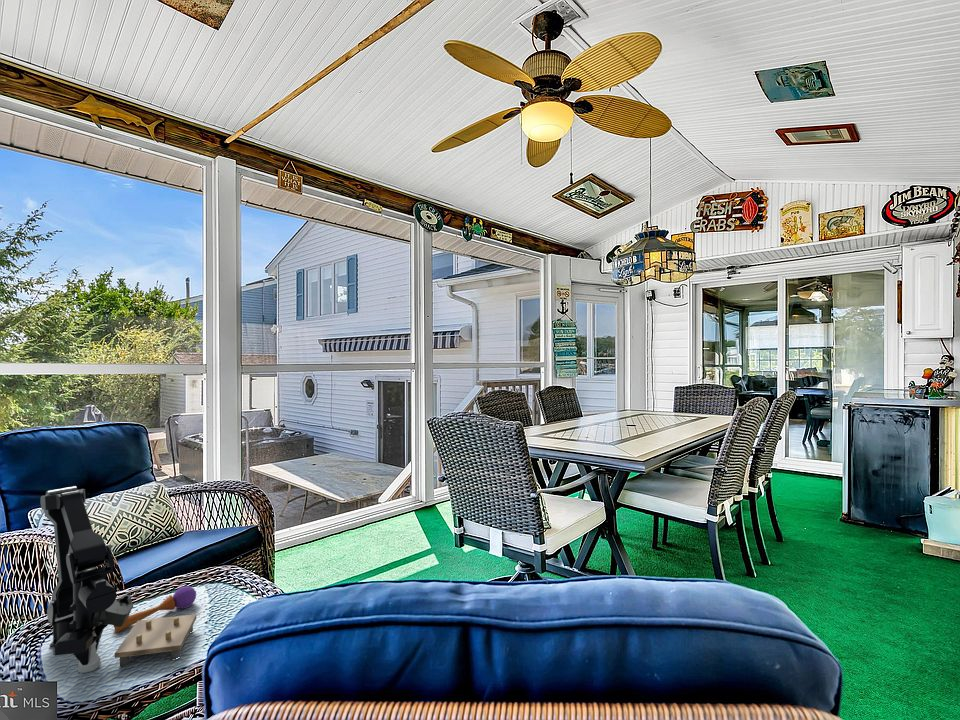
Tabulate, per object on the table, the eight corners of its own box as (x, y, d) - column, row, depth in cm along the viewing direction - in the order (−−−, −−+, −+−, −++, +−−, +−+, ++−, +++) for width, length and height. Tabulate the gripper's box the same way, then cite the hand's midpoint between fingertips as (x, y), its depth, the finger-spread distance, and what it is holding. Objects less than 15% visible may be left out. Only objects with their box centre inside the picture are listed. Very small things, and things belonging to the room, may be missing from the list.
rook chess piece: (86, 661, 122) (85, 630, 122) (105, 661, 123) (105, 629, 122) (72, 674, 118) (72, 641, 117) (93, 673, 118) (92, 640, 118)
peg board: (114, 669, 120) (114, 647, 120) (137, 635, 133) (137, 615, 133) (180, 660, 124) (180, 639, 123) (196, 628, 137) (196, 608, 137)
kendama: (110, 613, 136) (189, 581, 152) (114, 635, 136) (192, 600, 152) (117, 617, 133) (197, 584, 148) (120, 640, 133) (200, 604, 148)
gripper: (110, 613, 112) (111, 680, 113) (142, 574, 130) (142, 632, 131) (51, 619, 109) (52, 688, 110) (92, 578, 127) (92, 638, 128)
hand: (89, 659), depth 120 cm, fingers closed on rook chess piece, 3 cm apart
